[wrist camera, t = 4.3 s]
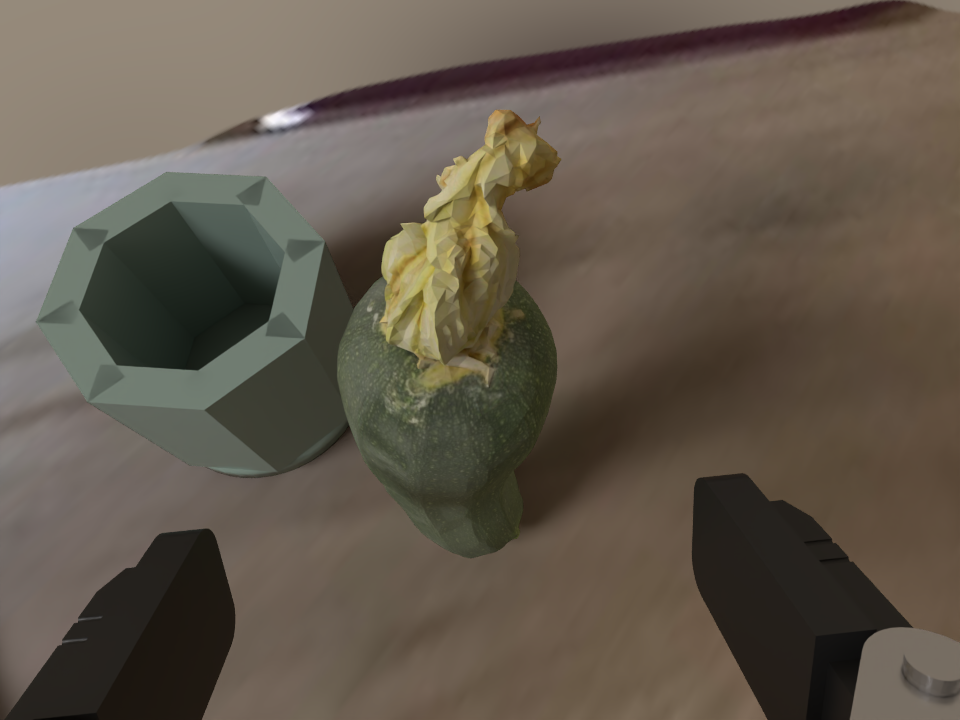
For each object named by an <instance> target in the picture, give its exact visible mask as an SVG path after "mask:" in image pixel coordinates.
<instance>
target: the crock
mask: <svg viewBox="0 0 960 720" xmlns="http://www.w3.org/2000/svg"><path fill="white" fill-rule="evenodd" d="M352 313H353V307H352V305H351V303H350V300H349V298H348V295H347V293H346V291H345V288H344V286H343V283H342V281H341V279H340V276H339V274H338V271H337V269H336V267H335V264H334V262H333V259H332V257H331V255H330V252H329V250H328V247H327V245H326V243H325V241H324V240H323V239H322V238H321V237H320V235H319V234H318V233H317V232H316V231H315V230H314V229H313V228H312V227H311V226H310V225H309V223H308V222H307V221H306V220H305V219H304V218H303V217H302V216H301V215H300V214H299V212H298V211H297V210H296V209H295V208H294V207H293V206H292V205H291V204H290V203H289V201H288V200H287V199H286V198H285V197H284V196H283V195H282V194H281V193H280V192H279V191H278V189H277V188H276V187H275V186H274V185H273V184H272V183H271V182H270V181H269V180H268V178H267V177H261V176H239V175H218V174H197V173H175V172H166V173H164V174H162V175H161V176H159V177H157V178H156V179H154V180H152V181H151V182H149V183H147V184H146V185H144V186H142V187H141V188H139V189H137V190H136V191H134V192H132V193H131V194H129V195H127V196H126V197H124V198H122V199H121V200H119V201H118V202H116V203H114V204H113V205H111V206H109V207H108V208H106V209H104V210H103V211H101V212H99V213H98V214H96V215H94V216H93V217H91V218H89V219H88V220H86V221H84V222H83V223H81V224H79V225H78V226H76V227H74V228H73V230H72V233H71V235H70V238H69V240H68V243H67V245H66V248H65V250H64V253H63V255H62V258H61V260H60V263H59V265H58V268H57V270H56V273H55V275H54V278H53V280H52V283H51V285H50V288H49V291H48V293H47V296H46V298H45V301H44V303H43V306H42V308H41V311H40V313H39V316H38V318H37V321H36V323H37V324H38V326H39V327H40V329H41V331H42V332H43V334H44V335H45V337H46V338H47V340H48V341H49V343H50V345H51V346H52V348H53V349H54V351H55V352H56V354H57V355H58V357H59V359H60V360H61V362H62V363H63V365H64V366H65V368H66V369H67V371H68V373H69V374H70V376H71V377H72V379H73V380H74V382H75V383H76V385H77V387H78V388H79V390H80V391H81V393H82V394H83V396H84V397H85V399H86V401H87V402H88V403H89V404H91V405H93V406H94V407H96V408H97V409H99V410H101V411H102V412H104V413H106V414H107V415H109V416H110V417H112V418H114V419H115V420H117V421H119V422H120V423H122V424H123V425H125V426H127V427H128V428H130V429H131V430H133V431H135V432H136V433H138V434H140V435H141V436H143V437H144V438H146V439H148V440H149V441H151V442H153V443H154V444H156V445H157V446H159V447H161V448H162V449H164V450H165V451H167V452H169V453H170V454H172V455H174V456H175V457H177V458H178V459H180V460H182V461H183V462H185V463H187V464H188V465H190V466H201V467H206V468H208V469H210V470H213V471H215V472H217V473H221V474H224V475H228V476H233V477H241V478H260V477H268V476H274V475H278V474H282V473H285V472H288V471H291V470H293V469H296V468H299V467H300V466H302V465H304V464H306V463H308V462H310V461H312V460H313V459H315V458H316V457H318V456H319V455H321V454H322V453H323V452H325V451H326V450H327V449H328V448H329V447H330V446H331V445H333V444H334V443H335V442H336V441H337V439H338V438H339V437H340V436H341V435H342V434H343V433H344V431H345V430H346V429H347V427H348V426H349V423H348V420H347V417H346V414H345V411H344V406H343V402H342V398H341V394H340V390H339V385H338V381H337V357H338V350H339V344H340V342H341V339H342V337H343V334H344V332H345V330H346V327H347V325H348V322H349V320H350V317H351V315H352Z"/></svg>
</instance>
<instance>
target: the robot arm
mask: <svg viewBox="0 0 960 720" xmlns="http://www.w3.org/2000/svg"><path fill="white" fill-rule="evenodd" d="M692 564H693V570H694V575H695V580H696V583H697V586H698V589H699V592H700V594H701V596H702V598H703V600H704V602H705V603H706V605H707V607H708V609H709V611H710V613H711V615H712V616H713V618H714V620H715V622H716V624H717V626H718V628H719V630H720V631H721V633H722V635H723V637H724V639H725V641H726V643H727V644H728V646H729V648H730V650H731V652H732V654H733V656H734V658H735V659H736V661H737V663H738V665H739V667H740V669H741V671H742V672H743V674H744V676H745V678H746V680H747V682H748V684H749V686H750V687H751V689H752V691H753V693H754V695H755V697H756V699H757V700H758V702H759V704H760V706H761V708H762V710H763V712H764V714H765V715H766V717H767V719H768V720H960V643H959V642H957V641H955V640H952V639H950V638H948V637H946V636H943V635H940V634H937V633H934V632H930V631H926V630H922V629H916V628H913V627H912V626H911V625H910V624H909V623H908V622H907V620H906V619H905V618H904V617H903V616H902V615H901V614H900V613H899V612H898V611H897V610H896V608H895V607H894V606H893V605H892V604H891V603H890V602H889V601H888V600H887V599H886V597H885V596H884V595H883V594H882V593H881V592H880V591H879V590H878V589H877V588H876V587H875V585H874V584H873V583H872V582H871V581H870V580H869V579H868V578H867V577H866V576H865V575H864V573H863V572H862V571H861V570H860V569H859V568H858V567H857V566H856V565H855V564H854V562H850V561H849V559H848V556H847V555H846V554H845V553H844V552H843V550H842V549H841V548H840V547H839V546H838V545H837V544H836V543H833V542H832V538H831V537H830V536H829V535H828V534H827V533H826V532H825V531H824V530H823V529H822V527H821V526H820V525H819V524H818V523H817V522H816V521H815V520H814V519H813V518H812V517H811V516H809V515H808V514H806V513H804V512H802V511H801V510H799V509H797V508H795V507H794V506H792V505H790V504H789V503H787V502H785V501H783V500H779V501H769V500H768V499H767V498H766V497H765V495H764V494H763V493H762V492H761V491H760V490H759V488H758V487H757V486H756V485H755V484H754V482H753V481H752V480H751V479H750V478H749V477H748V476H747V475H746V474H743V473H741V474H732V475H722V476H713V477H703V478H698V479H697V481H696V483H695V487H694V506H693V537H692ZM234 631H235V608H234V602H233V598H232V595H231V591H230V588H229V584H228V580H227V577H226V573H225V569H224V566H223V562H222V558H221V555H220V551H219V548H218V544H217V541H216V538H215V535H214V534H213V532H212V531H211V530H210V529H197V530H188V531H178V532H169V533H161V534H159V535H158V536H157V537H156V538H155V539H154V541H153V542H152V544H151V545H150V547H149V548H148V550H147V551H146V552H145V554H144V555H143V557H142V558H141V560H140V561H139V563H138V564H137V566H136V567H134V568H126V569H125V570H123V571H122V572H121V573H120V574H118V575H117V576H116V577H115V578H113V579H112V580H111V581H110V582H108V583H107V584H106V585H105V586H104V587H102V588H101V589H100V590H99V591H97V592H96V594H95V595H94V597H93V598H92V599H91V601H90V602H89V603H88V605H87V606H86V608H85V609H84V610H83V612H82V613H81V615H80V616H79V617H78V623H74V624H73V626H72V627H71V628H70V630H69V631H68V633H67V634H66V635H65V637H64V638H63V640H62V641H63V642H62V645H60V646H57V648H56V649H55V651H54V652H53V653H52V655H51V656H50V658H49V659H48V660H47V662H46V663H45V665H44V666H43V667H42V669H41V670H40V671H39V673H38V674H37V676H36V677H35V678H34V680H33V681H32V683H31V684H30V685H29V687H28V688H27V689H26V691H25V692H24V694H23V695H22V696H21V698H20V699H19V701H18V702H17V703H16V705H15V706H14V708H13V709H12V710H11V712H10V713H9V714H8V716H7V717H6V719H5V720H202V718H203V715H204V713H205V710H206V708H207V705H208V702H209V700H210V697H211V695H212V692H213V690H214V687H215V685H216V682H217V680H218V677H219V675H220V672H221V670H222V667H223V665H224V662H225V660H226V657H227V655H228V652H229V650H230V647H231V644H232V641H233V637H234Z"/></svg>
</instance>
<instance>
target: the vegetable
mask: <svg viewBox="0 0 960 720" xmlns="http://www.w3.org/2000/svg"><path fill="white" fill-rule="evenodd" d="M540 123H541V121H540V116H539V118H538V119H537V120H536V121H535V123H532V124H528V125H527V124H526V123H525V122H524V121H523V120H522V119H521V118H520V117H519V116H518V115H516V114H515V113H514V112H512V111H511V110H495V111H494V112H493V114H492V115H491V116H490V117H489V118H488V128H487V132H486V135H485V144H486V145H484V146H483V147H481V148H480V149H479V150H477V151H476V152H475V153H473V154H472V155H471V156H470V157H469V158H468V159H465V158H464V157H462V156H460V157H457V158H454V159H453V160H454V162H455V164H456V165H453V166H450V167H446V168H445V169H444V171H443V173H442V175H441V177H440V176H439V175H437V177H436V180H437V183H438V185H439V186H440V188H441V189H442V191H441V193H440V194H439V195H436V196H434V197H431V198H429V200H428V202H427V203H426V205H425V207H424V218H425V219H427V221H426V222H425V223H423V224H422V223H401V226H402V228H403V230H402V231H401V232H400V233H399V234H397V235H395V236H393V237H391V239H390V240H389V241H387V243H386V245H385V249H384V253H383V258H382V265H381V269H382V274H383V276H382V277H381V278H380V279H378V280H377V281H376V282H374V284H373V285H372V286H371V287H370V289H369V290H368V291H367V292H366V294H365V295H364V296H363V297H362V299H361V300H360V301H359V303H358V304H357V305H356V306H355V308H354V310H353V313H352V315H351V317H350V320H349V322H348V325H347V327H346V330H345V332H344V334H343V337H342V339H341V342H340V344H339V350H338V357H337V381H338V385H339V390H340V394H341V398H342V402H343V406H344V411H345V414H346V417H347V420H348V423H349V425H350V428H351V431H352V434H353V436H354V439H355V441H356V444H357V446H358V448H359V450H360V452H361V454H362V457H363V460H364V462H365V463H366V464H367V466H368V467H369V469H370V470H371V471H372V473H373V474H374V475H375V476H376V477H377V478H378V480H379V481H380V482H381V483H382V484H383V485H384V487H385V489H386V490H387V492H388V493H389V494H390V495H391V496H392V497H393V498H394V500H395V501H396V502H397V503H398V504H399V505H400V506H401V507H402V508H403V509H404V511H405V512H406V513H407V515H408V516H409V518H410V519H411V521H412V522H413V523H414V525H415V526H416V527H417V528H418V529H419V530H420V531H421V533H423V534H424V535H425V536H426V537H427V538H429V539H430V540H432V541H433V542H435V543H436V544H438V545H440V546H441V547H443V548H444V549H446V550H448V551H450V552H452V553H455V554H458V555H461V556H463V557H466V558H474V557H478V556H481V555H485V554H489V553H493V552H496V551H498V550H500V549H501V548H503V547H504V546H505V545H506V544H507V543H508V542H509V541H511V540H513V539H517V538H518V536H519V533H520V530H519V523H520V519H521V516H522V512H523V499H522V497H521V494H520V492H519V488H518V484H517V480H516V477H515V473H514V470H515V468H517V467H518V466H519V465H520V464H521V463H522V462H523V461H524V460H525V458H526V457H527V456H528V455H529V453H530V452H531V450H532V448H533V447H534V445H535V443H536V441H537V438H538V436H539V434H540V432H541V430H542V427H543V424H544V422H545V419H546V417H547V414H548V411H549V407H550V403H551V399H552V395H553V392H554V388H555V384H556V377H557V353H556V347H555V344H554V340H553V337H552V333H551V330H550V328H549V326H548V324H547V322H546V320H545V318H544V316H543V314H542V313H541V311H540V309H539V307H538V306H537V304H536V303H535V302H534V300H533V299H532V298H531V296H530V295H529V294H528V292H527V291H526V290H525V289H524V288H523V287H522V286H521V285H520V284H519V283H518V282H517V281H516V275H517V269H518V263H519V257H520V253H519V248H518V247H517V246H516V245H515V243H516V241H517V239H518V237H519V236H517V235H515V233H514V232H513V231H512V230H511V229H510V228H508V225H507V223H506V220H505V218H504V216H503V213H502V211H501V209H502V206H503V204H504V202H505V199H506V197H508V196H510V195H513V194H514V193H515V191H520V190H522V189H526V191H529V190H532V189H534V188H537V187H539V186H542V185H544V184H547V183H548V182H549V181H550V180H551V179H552V176H553V172H554V169H555V168H556V167H557V165H558V164H559V162H560V161H561V158H559V157H558V156H557V151H556V150H555V149H554V148H552V147H551V146H550V145H549V144H548V143H547V142H545V141H544V140H543V139H541V138H540V137H539V136H537V130H538V126H539V124H540Z"/></svg>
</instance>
